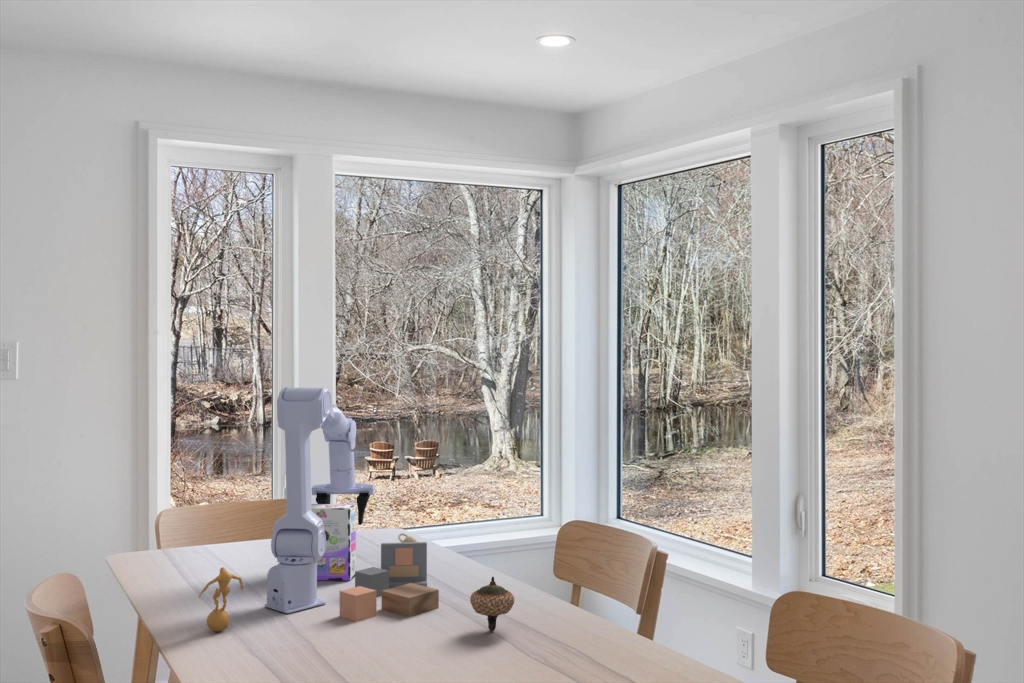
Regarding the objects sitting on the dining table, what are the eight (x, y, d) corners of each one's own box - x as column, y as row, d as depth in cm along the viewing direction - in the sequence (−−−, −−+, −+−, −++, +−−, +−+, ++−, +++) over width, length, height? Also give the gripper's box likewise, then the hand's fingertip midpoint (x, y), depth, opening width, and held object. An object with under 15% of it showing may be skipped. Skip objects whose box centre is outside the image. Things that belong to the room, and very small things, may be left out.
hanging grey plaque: (426, 586, 195) (427, 545, 195) (380, 588, 193) (380, 546, 193) (426, 579, 200) (426, 539, 201) (381, 581, 199) (381, 540, 199)
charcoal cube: (370, 599, 185) (370, 575, 185) (355, 595, 188) (355, 571, 188) (388, 594, 189) (388, 570, 189) (373, 590, 192) (373, 566, 192)
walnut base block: (409, 618, 172) (409, 597, 172) (381, 610, 178) (381, 590, 178) (438, 609, 179) (438, 589, 179) (410, 602, 184) (410, 582, 184)
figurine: (234, 624, 168) (235, 560, 168) (249, 631, 163) (249, 565, 163) (191, 633, 162) (191, 567, 162) (204, 641, 158) (205, 573, 158)
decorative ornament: (411, 561, 219) (411, 539, 219) (395, 554, 226) (395, 533, 226) (425, 559, 221) (425, 537, 221) (410, 552, 228) (410, 531, 228)
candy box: (357, 575, 205) (357, 503, 205) (350, 581, 199) (350, 507, 199) (298, 573, 206) (299, 502, 206) (289, 580, 200) (290, 506, 201)
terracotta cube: (356, 622, 170) (356, 595, 170) (339, 616, 173) (339, 591, 173) (376, 616, 173) (376, 590, 173) (359, 611, 177) (359, 585, 177)
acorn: (501, 641, 158) (501, 584, 158) (461, 634, 162) (461, 579, 162) (522, 628, 166) (522, 574, 166) (483, 622, 169) (483, 569, 169)
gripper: (376, 462, 213) (378, 517, 215) (315, 463, 214) (318, 517, 216) (370, 471, 206) (372, 527, 208) (308, 471, 207) (311, 528, 209)
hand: (344, 523), depth 211 cm, fingers open, 7 cm apart
